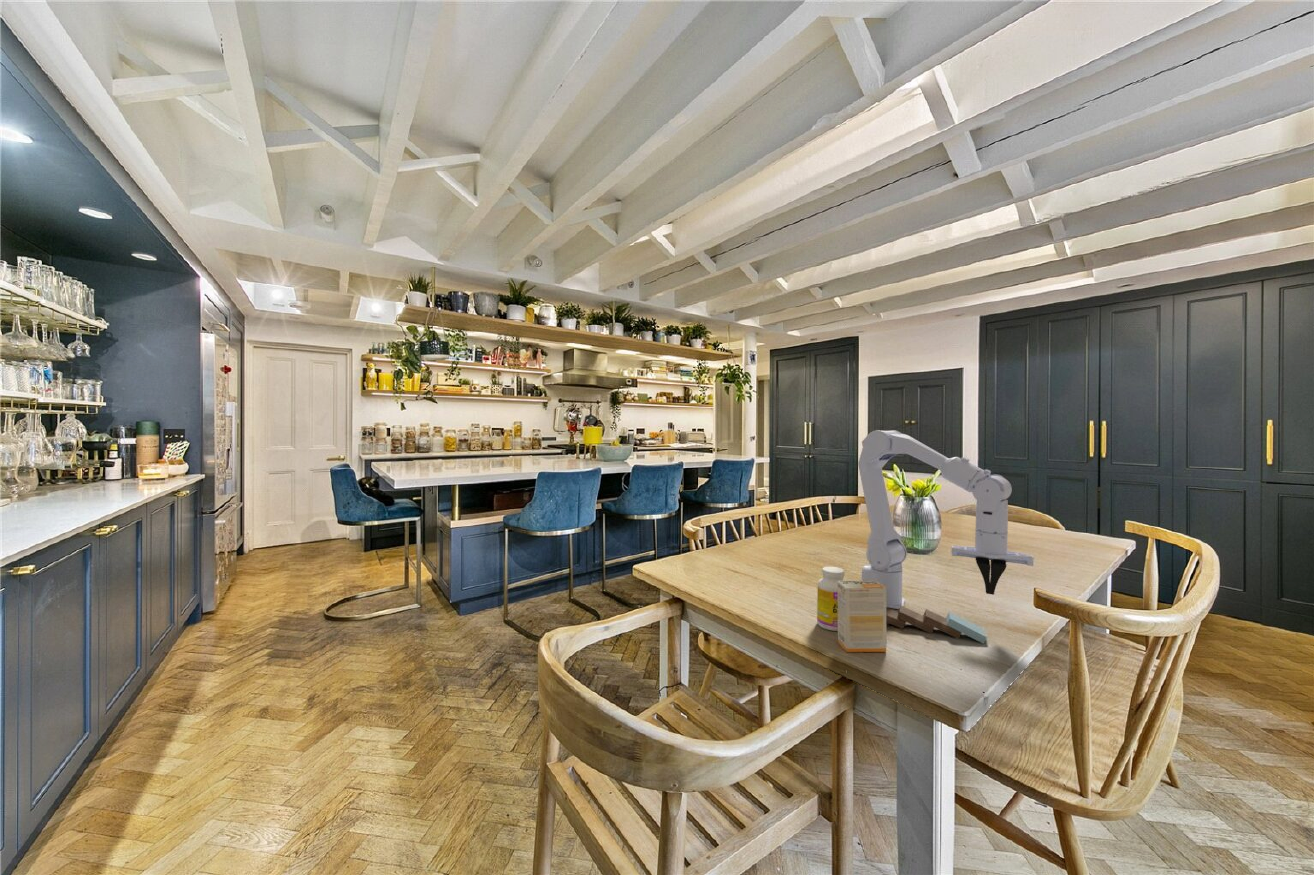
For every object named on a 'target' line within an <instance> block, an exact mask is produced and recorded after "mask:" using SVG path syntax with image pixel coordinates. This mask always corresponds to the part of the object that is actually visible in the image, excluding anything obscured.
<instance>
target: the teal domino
mask: <svg viewBox="0 0 1314 875" xmlns="http://www.w3.org/2000/svg"><path fill="white" fill-rule="evenodd" d="M945 618H946V624H947V625H948V626H950V627H952V628H954V629H956V630H958V631H960V632H961V634H964V635H965V636H967V637H969V638H971V639H973V640H975V641H977V642H980V643H981V644H985V642H986V640H987V637H988V636H987V633H986V629H985V628H983V627H981V626H979V625H977V624H975V623H973V622H971V621H969V620H967V619H965V618H963V617H961V616H959V615H957V614H955V613H953V612H951V611H949V612H948V613H947V616H946V617H945Z"/></svg>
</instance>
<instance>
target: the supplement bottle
mask: <svg viewBox="0 0 1314 875" xmlns="http://www.w3.org/2000/svg"><path fill="white" fill-rule="evenodd" d="M821 571H822V572H821V573H822V574H821V575H822V578H820V579H819V580H818V581H817V593H816V594H817V596H816V597H817V600H816V601H817V602H816V604H817V606H816V612H817V613H816V614H817V615H816V621H817V624H818V626H819V627H821V629H825V630H827V631H833V632H838V582H837V581H845V579H844V577H845V570H844V569H843V568H841V567H837V566H824V567H822V570H821Z"/></svg>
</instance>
